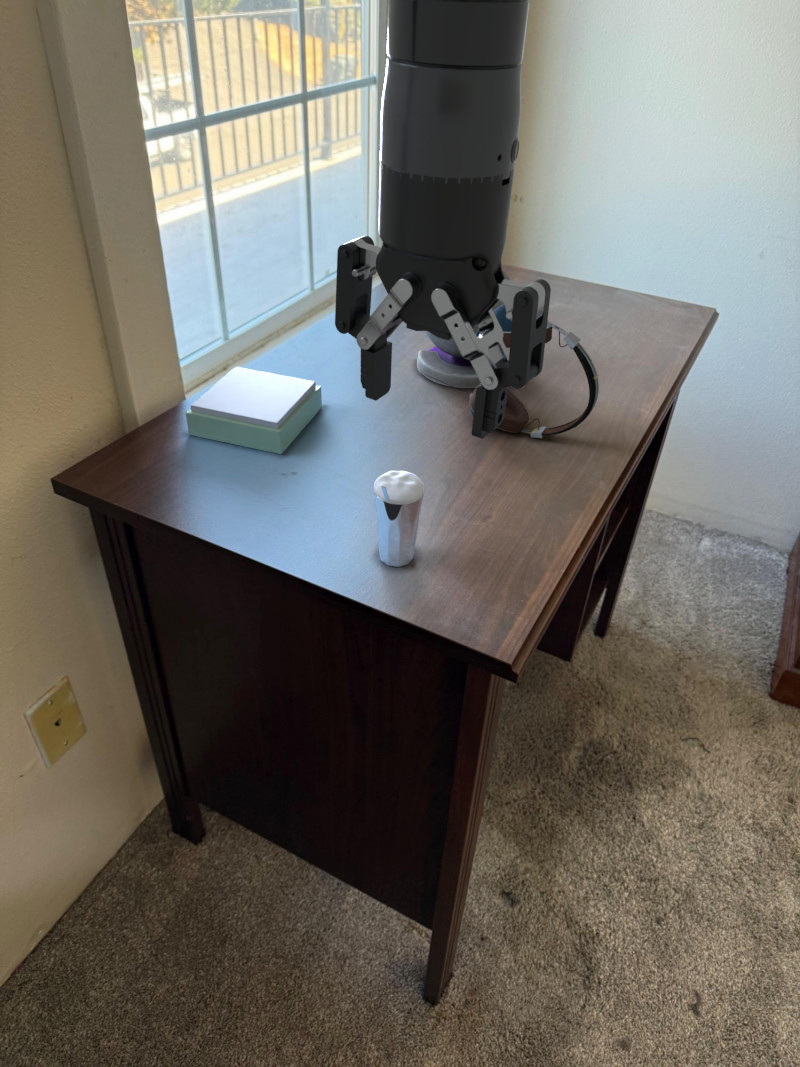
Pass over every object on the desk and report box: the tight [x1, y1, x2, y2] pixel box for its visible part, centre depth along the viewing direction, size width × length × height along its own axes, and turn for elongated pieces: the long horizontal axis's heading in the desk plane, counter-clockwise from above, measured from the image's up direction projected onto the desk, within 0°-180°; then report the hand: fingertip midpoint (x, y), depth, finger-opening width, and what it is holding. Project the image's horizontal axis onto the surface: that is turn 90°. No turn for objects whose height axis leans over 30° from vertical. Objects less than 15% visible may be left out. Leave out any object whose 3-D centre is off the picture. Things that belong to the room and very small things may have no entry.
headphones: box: [420, 304, 600, 439], centre depth 88 cm, size 6×15×22 cm
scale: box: [185, 366, 323, 455], centre depth 90 cm, size 12×12×4 cm
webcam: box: [416, 270, 511, 389], centre depth 100 cm, size 13×13×15 cm
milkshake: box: [373, 470, 426, 568], centre depth 69 cm, size 4×5×10 cm
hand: (429, 413), depth 51 cm, fingers open, 8 cm apart
